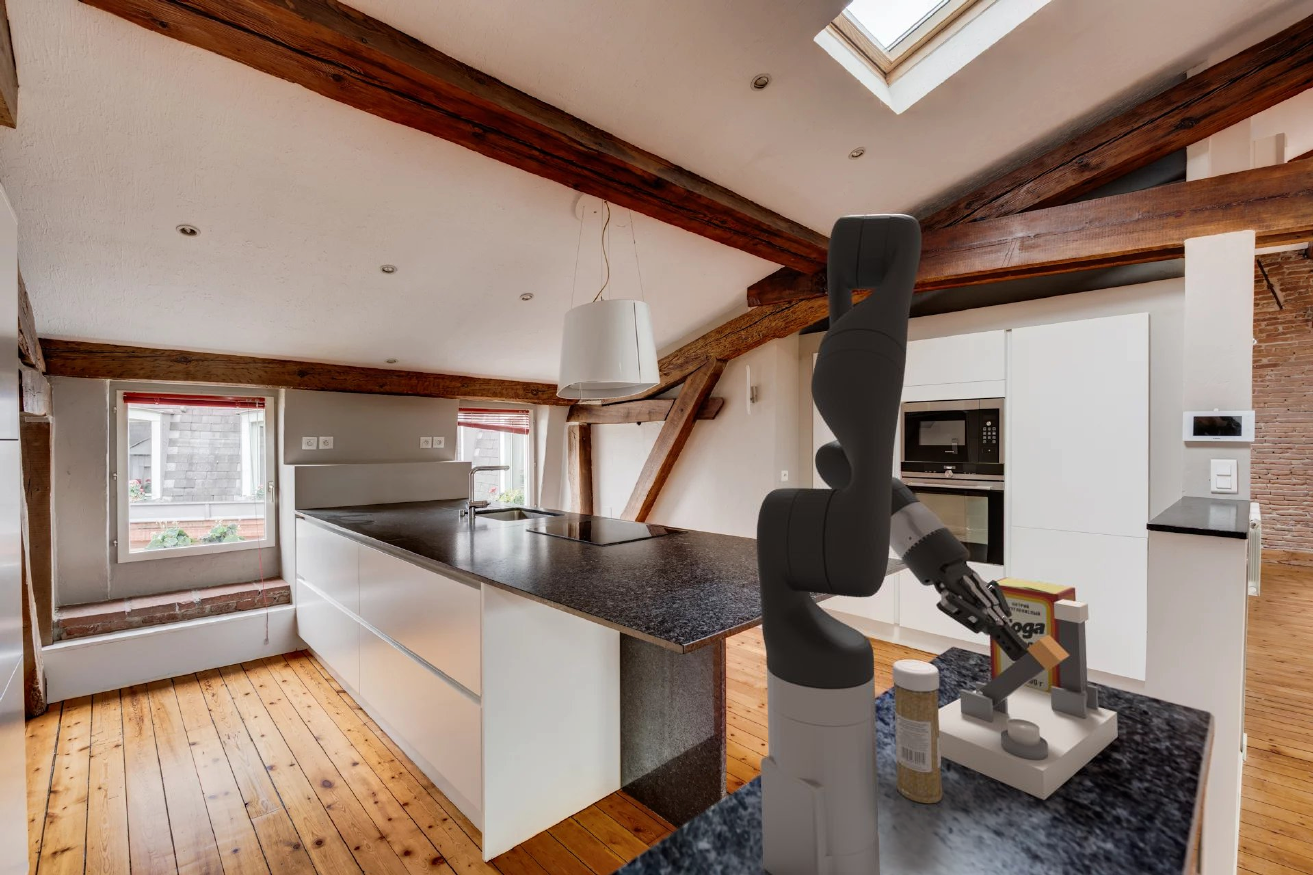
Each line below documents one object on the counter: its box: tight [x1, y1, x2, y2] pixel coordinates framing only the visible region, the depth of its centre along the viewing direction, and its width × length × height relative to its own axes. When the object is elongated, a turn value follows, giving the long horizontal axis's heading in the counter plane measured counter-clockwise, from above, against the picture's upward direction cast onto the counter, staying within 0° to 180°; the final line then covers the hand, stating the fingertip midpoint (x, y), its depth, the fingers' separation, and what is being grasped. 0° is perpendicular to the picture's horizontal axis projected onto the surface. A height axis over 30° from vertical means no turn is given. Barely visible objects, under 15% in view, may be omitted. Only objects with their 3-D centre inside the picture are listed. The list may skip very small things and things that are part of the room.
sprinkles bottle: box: [892, 659, 944, 804], centre depth 61 cm, size 5×5×13 cm
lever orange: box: [976, 635, 1070, 707], centre depth 70 cm, size 3×3×13 cm
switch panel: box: [938, 681, 1119, 801], centre depth 72 cm, size 22×14×6 cm, turn 125°
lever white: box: [1054, 599, 1090, 702], centre depth 74 cm, size 3×3×13 cm
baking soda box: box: [989, 577, 1077, 693], centre depth 87 cm, size 10×6×16 cm
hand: (1023, 656), depth 69 cm, fingers closed
